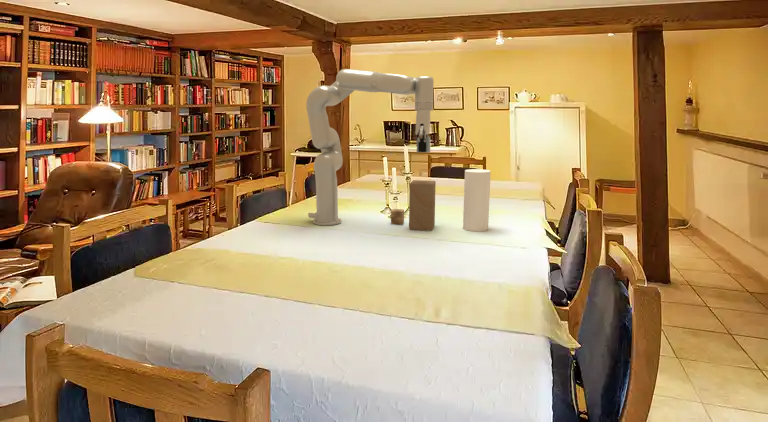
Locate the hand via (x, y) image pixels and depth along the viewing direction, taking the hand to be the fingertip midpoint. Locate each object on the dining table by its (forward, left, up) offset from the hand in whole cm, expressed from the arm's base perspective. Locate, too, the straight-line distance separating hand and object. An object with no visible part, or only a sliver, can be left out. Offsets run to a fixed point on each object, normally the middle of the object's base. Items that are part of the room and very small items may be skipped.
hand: (423, 150), depth 216 cm
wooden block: (0, 0, -33) cm, 33 cm away
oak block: (-12, +6, -33) cm, 36 cm away
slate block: (0, 0, 0) cm, 0 cm away
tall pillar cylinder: (+23, +4, -33) cm, 41 cm away
